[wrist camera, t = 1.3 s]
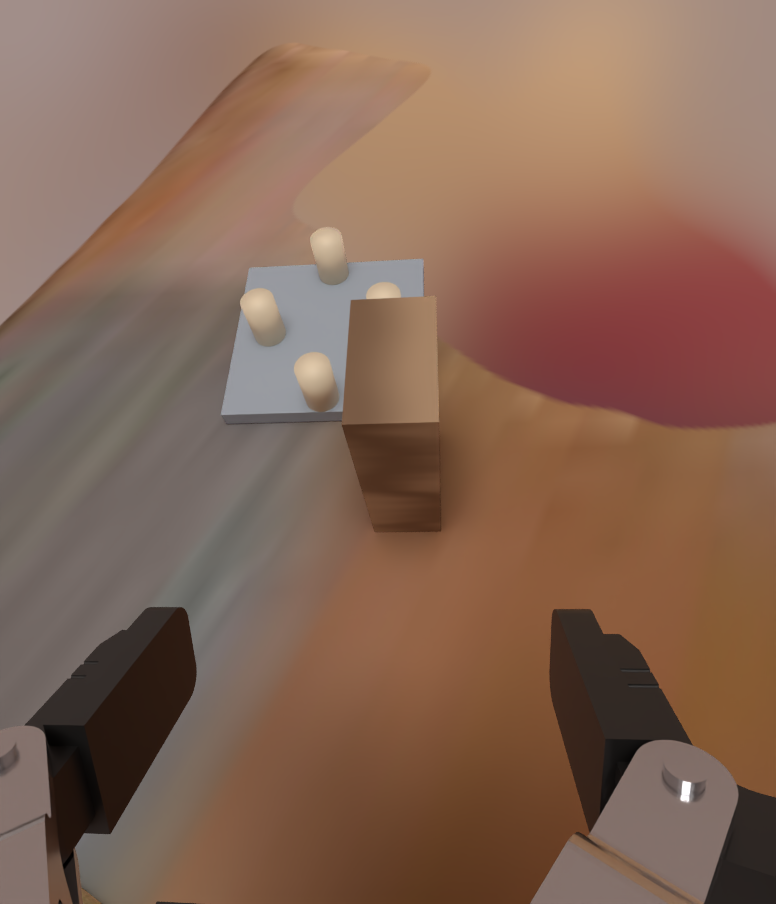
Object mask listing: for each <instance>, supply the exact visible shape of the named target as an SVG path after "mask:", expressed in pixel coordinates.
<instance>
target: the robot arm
mask: <svg viewBox="0 0 776 904" xmlns="http://www.w3.org/2000/svg"><path fill="white" fill-rule="evenodd" d="M195 682H196V662H195V656H194V650H193V644H192V638H191V632H190V626H189V620H188V615H187V612H186V610H185V609H184V608H182V607H149V608H147V609H145V610H144V611H143V612H142V614H141V615H140V616H139V617H138V618H137V619H136V620H135V621H134V623H133V624H132V625H131V626H130V627H129V628H128V629H127V630H121V631H120V632H118V633H117V634H115V635H114V636H112V637H111V638H109V639H107V640H106V641H104V642H103V643H101V644H100V645H99V646H98V647H97V648H96V649H95V650H94V651H93V652H92V653H91V654H90V655H89V656H88V658H87V659H86V660H85V661H84V664H83V665H80V666H79V667H78V668H77V669H76V671H75V672H74V673H73V674H72V675H71V679H67V680H66V681H65V682H64V683H63V685H62V686H61V687H60V688H59V689H58V690H57V691H56V692H55V693H54V694H53V695H52V696H51V697H50V699H49V700H48V701H47V702H46V703H45V704H44V705H43V706H42V707H41V708H40V709H39V710H38V711H37V713H36V714H35V715H34V716H33V717H32V718H31V719H30V720H29V721H28V722H27V723H26V724H25V725H24V726H16V727H11V728H7V729H4V730H1V731H0V904H83V899H82V890H81V882H80V873H79V864H78V858H77V854H76V850H75V846H76V845H77V843H78V842H79V840H80V838H81V837H82V835H83V834H84V833H94V834H111V832H112V830H113V829H114V827H115V825H116V824H117V822H118V820H119V819H120V817H121V815H122V813H123V812H124V810H125V808H126V807H127V805H128V803H129V802H130V800H131V798H132V796H133V795H134V793H135V791H136V790H137V788H138V786H139V785H140V783H141V781H142V779H143V778H144V776H145V774H146V773H147V771H148V769H149V768H150V766H151V764H152V762H153V761H154V759H155V757H156V756H157V754H158V752H159V751H160V749H161V747H162V745H163V744H164V742H165V740H166V739H167V737H168V735H169V734H170V732H171V730H172V728H173V727H174V725H175V723H176V722H177V720H178V718H179V717H180V715H181V713H182V711H183V710H184V708H185V706H186V705H187V703H188V701H189V700H190V698H191V696H192V693H193V691H194V687H195ZM550 689H551V697H552V702H553V706H554V710H555V713H556V717H557V720H558V724H559V727H560V731H561V734H562V738H563V741H564V745H565V748H566V752H567V755H568V759H569V762H570V766H571V769H572V773H573V776H574V780H575V783H576V787H577V790H578V794H579V797H580V801H581V804H582V808H583V811H584V815H585V818H586V822H587V825H588V829H589V832H590V834H589V835H588V836H587V837H586V836H584V835H583V834H581V833H579V832H576V833H575V834H573V835H572V836H571V838H570V839H569V840H568V842H567V843H566V845H565V846H564V848H563V850H562V851H561V853H560V855H559V856H558V858H557V860H556V861H555V863H554V865H553V866H552V868H551V870H550V871H549V873H548V875H547V876H546V878H545V880H544V881H543V883H542V885H541V886H540V888H539V890H538V891H537V893H536V895H535V896H534V898H533V900H532V901H531V903H530V904H776V798H774V797H771V796H767V795H764V794H760V793H757V792H754V791H751V790H748V789H746V788H743V787H741V786H739V785H737V784H736V782H735V780H734V779H733V777H732V775H731V774H730V773H729V771H728V770H727V769H726V768H725V767H724V766H723V765H722V764H721V763H720V762H719V761H718V760H717V759H715V758H714V757H713V756H711V755H710V754H708V753H707V752H705V751H703V750H701V749H699V748H697V747H695V746H693V745H692V743H691V741H690V739H689V738H688V736H687V734H686V732H685V731H684V729H683V727H682V725H681V723H680V722H679V720H678V718H677V716H676V715H675V713H674V711H673V709H672V708H671V706H670V704H669V702H668V700H667V699H666V697H665V695H664V693H663V692H662V690H661V689H660V688H659V684H658V683H657V681H656V679H655V677H654V676H653V674H652V673H650V668H649V667H648V665H647V663H646V661H645V660H644V658H643V656H642V654H641V653H640V651H639V650H638V649H637V648H636V647H635V646H633V645H632V644H631V643H630V642H629V641H627V640H626V639H625V638H624V637H622V636H621V635H620V634H603V633H602V630H601V628H600V626H599V624H598V622H597V620H596V618H595V616H594V614H593V612H592V611H591V610H590V609H554V610H553V613H552V625H551V649H550ZM156 904H194V903H174V902H157V903H156Z"/></svg>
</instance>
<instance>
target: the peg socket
mask: <svg viewBox="0 0 776 904" xmlns="http://www.w3.org/2000/svg"><path fill="white" fill-rule="evenodd" d="M310 242H311V246H312V250H313V254H314V258H315V262H316V264H315V265H295V266H276V267H257V268H249V273H248V278H247V283H246V288H245V293H244V295H243V297H242V298H241V301H240V305H241V308H242V309H241V314H240V319H239V324H238V329H237V335H236V340H235V345H234V350H233V355H232V360H231V366H230V371H229V376H228V381H227V386H226V391H225V397H224V402H223V407H222V412H221V416H222V417H223V419H224V420H225V422H226V424H238V423H274V422H311V421H342V414H343V400H344V386H345V372H346V358H347V344H348V330H349V316H350V303H351V300H360V299H381V298H403V297H424V267H423V259H410V260H391V261H373V262H355V263H354V262H353V263H347V261H346V255H345V250H344V245H343V240H342V235H341V233H340V231H339V230H338V229H336V228H333V227H324V228H320V229H318V230H316V231H315V232H314V233H313V234H312V235H311V238H310Z"/></svg>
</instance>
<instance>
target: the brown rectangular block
mask: <svg viewBox="0 0 776 904" xmlns="http://www.w3.org/2000/svg"><path fill="white" fill-rule="evenodd" d="M342 427H343V430H344V434H345V437H346V440H347V443H348V447H349V450H350V453H351V456H352V460H353V463H354V466H355V469H356V473H357V476H358V479H359V482H360V486H361V489H362V492H363V495H364V499H365V502H366V505H367V508H368V512H369V515H370V518H371V521H372V525H373V528H374V531H375V532H431V531H441V510H440V446H439V396H438V356H437V317H436V296H425V297H403V298H381V299H360V300H351V303H350V316H349V330H348V344H347V358H346V372H345V386H344V400H343V414H342Z"/></svg>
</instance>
